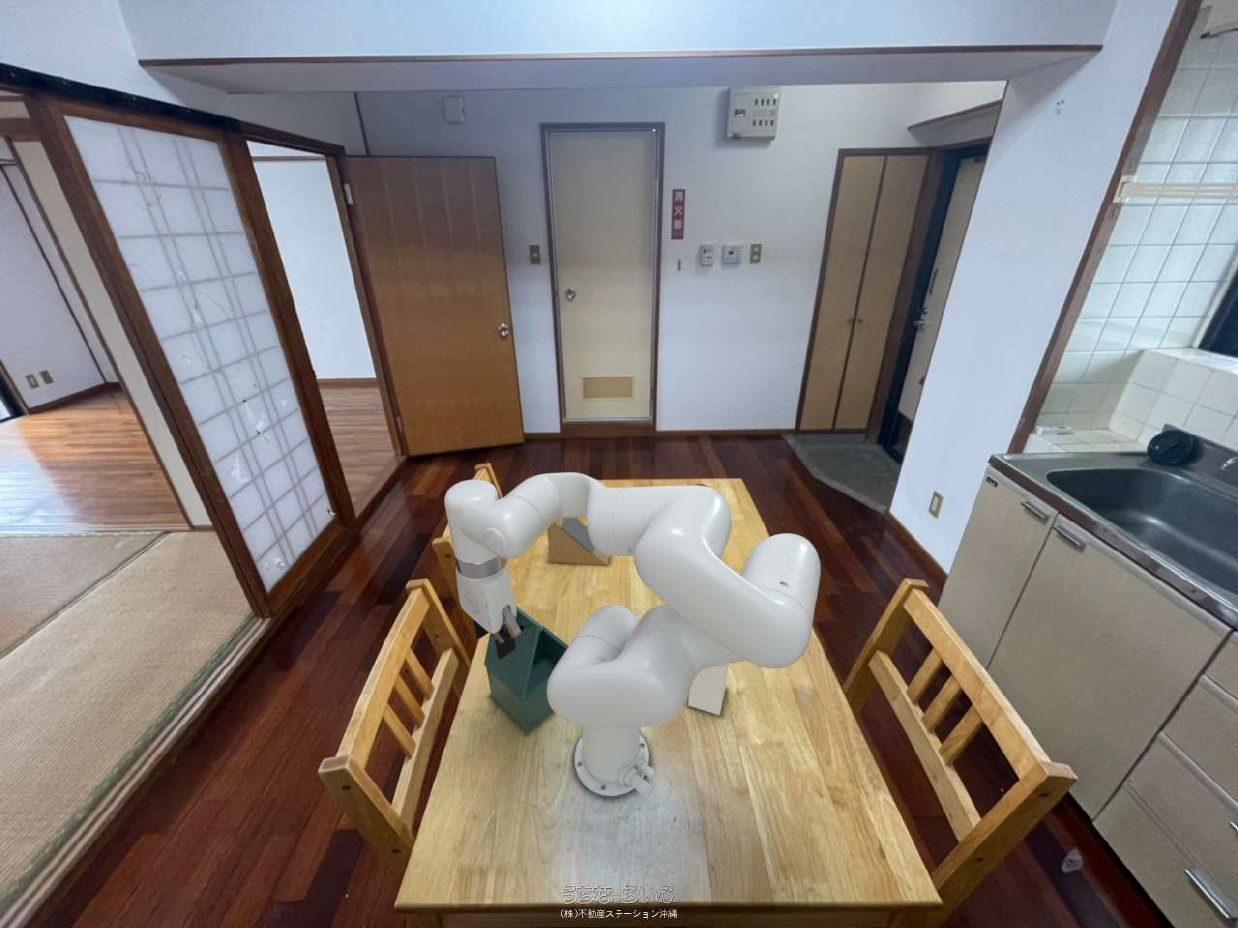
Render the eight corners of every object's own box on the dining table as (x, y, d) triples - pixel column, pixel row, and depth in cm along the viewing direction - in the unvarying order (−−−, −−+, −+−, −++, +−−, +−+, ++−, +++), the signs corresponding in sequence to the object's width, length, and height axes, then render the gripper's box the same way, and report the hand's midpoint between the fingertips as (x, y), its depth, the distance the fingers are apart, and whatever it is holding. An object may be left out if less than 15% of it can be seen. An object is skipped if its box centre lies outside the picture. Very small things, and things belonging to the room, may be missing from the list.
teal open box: (546, 654, 108) (543, 625, 104) (582, 685, 101) (581, 655, 97) (491, 695, 99) (485, 665, 95) (527, 732, 92) (523, 701, 88)
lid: (501, 593, 92) (475, 600, 88) (541, 625, 85) (515, 633, 81) (487, 663, 95) (461, 672, 91) (524, 699, 89) (498, 711, 84)
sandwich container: (608, 565, 133) (606, 517, 126) (549, 562, 135) (545, 514, 128) (611, 545, 141) (610, 498, 134) (556, 543, 142) (552, 496, 135)
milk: (695, 681, 102) (702, 595, 92) (726, 690, 100) (736, 603, 90) (687, 706, 97) (694, 618, 87) (719, 716, 95) (730, 627, 85)
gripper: (430, 545, 81) (448, 629, 90) (493, 597, 71) (507, 686, 79) (471, 525, 86) (485, 607, 95) (536, 571, 76) (545, 658, 84)
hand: (495, 642), depth 87 cm, fingers closed on lid, 5 cm apart
